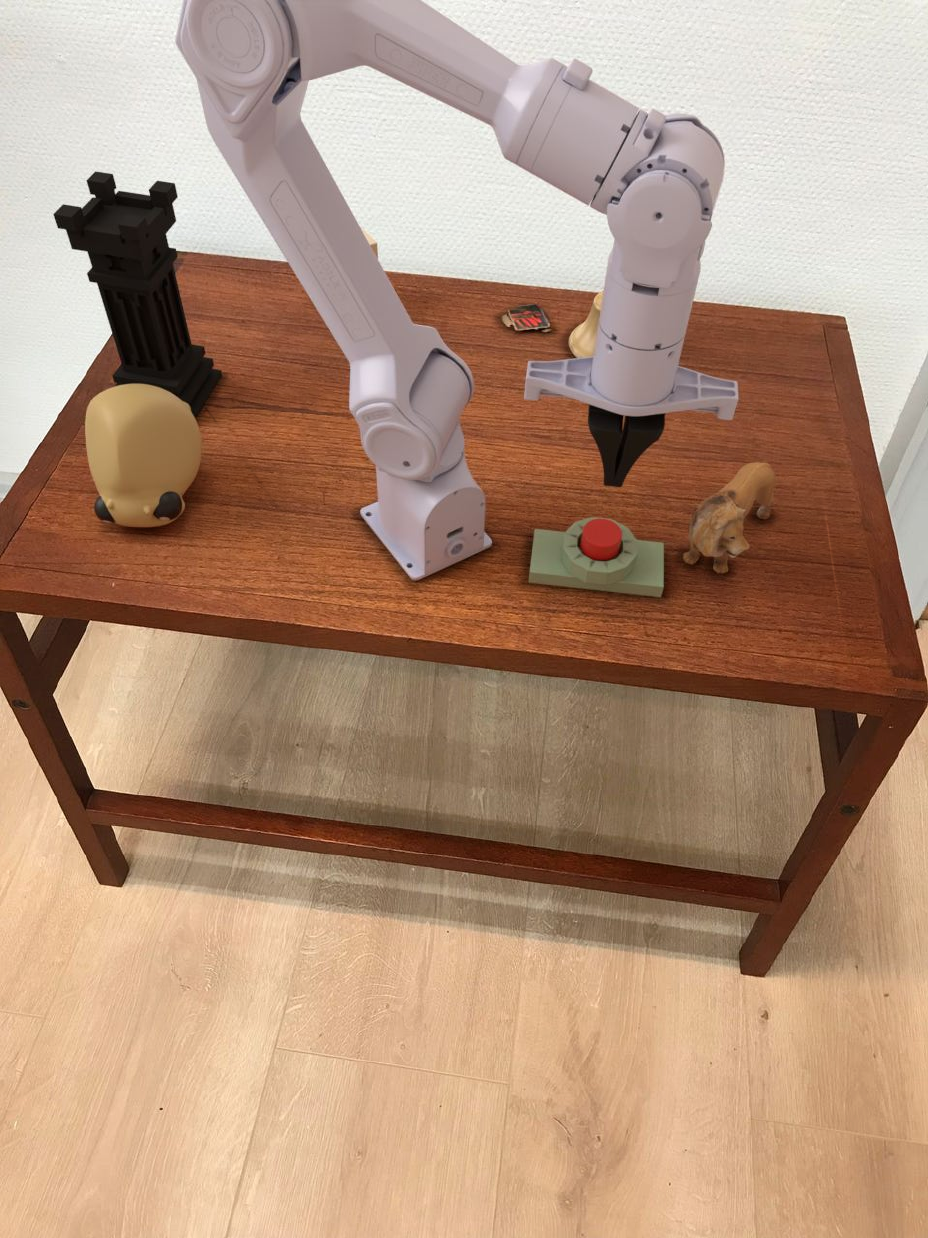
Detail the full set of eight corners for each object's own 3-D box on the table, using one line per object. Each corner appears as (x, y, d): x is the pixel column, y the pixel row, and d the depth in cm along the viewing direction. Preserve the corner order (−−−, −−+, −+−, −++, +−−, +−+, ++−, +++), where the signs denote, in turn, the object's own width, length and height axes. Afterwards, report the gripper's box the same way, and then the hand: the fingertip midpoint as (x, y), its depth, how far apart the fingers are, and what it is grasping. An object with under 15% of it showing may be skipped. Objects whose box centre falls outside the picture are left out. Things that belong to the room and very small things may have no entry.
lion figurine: (724, 611, 80) (752, 536, 73) (663, 587, 81) (685, 510, 74) (778, 501, 88) (808, 423, 81) (722, 481, 90) (746, 402, 83)
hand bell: (647, 325, 104) (676, 180, 92) (648, 373, 99) (679, 226, 87) (569, 319, 105) (587, 173, 92) (567, 367, 100) (585, 219, 87)
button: (619, 534, 81) (622, 520, 80) (618, 563, 79) (621, 548, 78) (581, 530, 82) (583, 516, 80) (579, 558, 80) (581, 544, 78)
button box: (661, 548, 84) (667, 524, 82) (660, 603, 80) (667, 579, 78) (533, 535, 85) (536, 510, 82) (527, 588, 81) (530, 563, 79)
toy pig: (111, 520, 90) (57, 528, 79) (108, 386, 88) (52, 376, 77) (217, 524, 89) (176, 533, 79) (216, 389, 87) (174, 380, 77)
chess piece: (111, 413, 94) (46, 215, 78) (147, 363, 98) (93, 168, 83) (189, 427, 93) (139, 230, 77) (222, 376, 97) (181, 181, 82)
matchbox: (533, 303, 106) (534, 299, 106) (557, 329, 103) (558, 325, 103) (495, 314, 105) (495, 310, 104) (518, 340, 102) (519, 336, 102)
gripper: (751, 299, 66) (707, 452, 76) (536, 279, 67) (523, 433, 77) (757, 363, 61) (710, 516, 72) (527, 341, 62) (514, 495, 73)
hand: (613, 477), depth 74 cm, fingers closed
